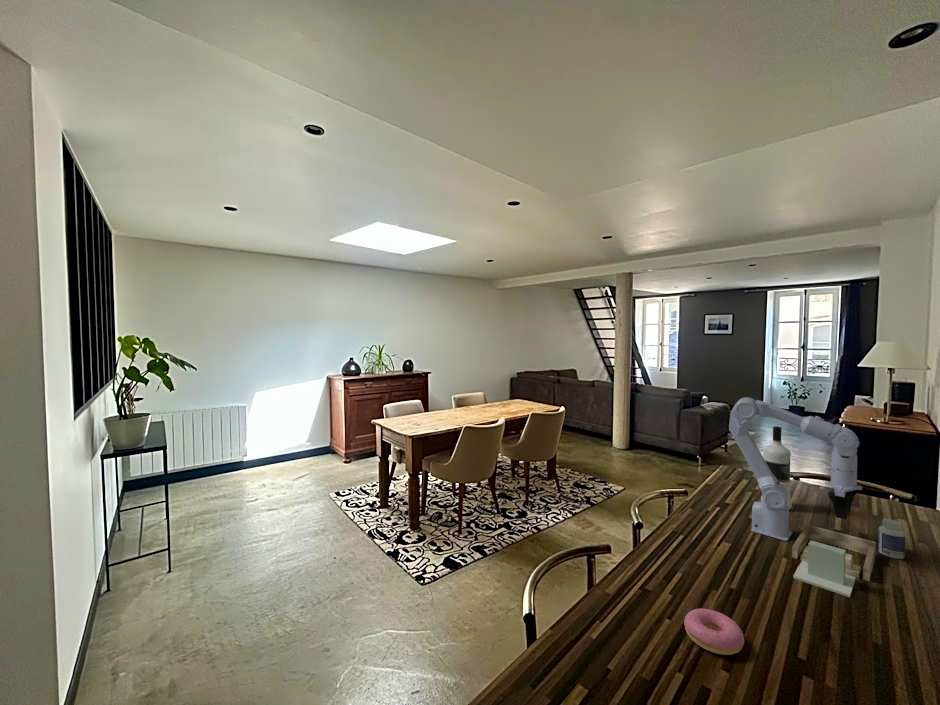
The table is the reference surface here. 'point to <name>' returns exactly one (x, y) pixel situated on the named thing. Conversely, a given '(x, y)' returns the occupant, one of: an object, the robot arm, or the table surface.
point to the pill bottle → (892, 539)
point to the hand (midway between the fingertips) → (842, 514)
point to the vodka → (779, 461)
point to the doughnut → (714, 631)
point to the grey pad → (824, 581)
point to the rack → (840, 541)
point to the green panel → (826, 562)
